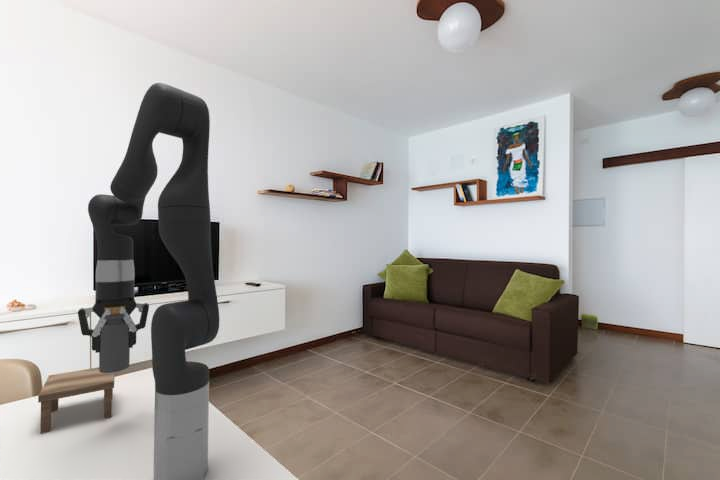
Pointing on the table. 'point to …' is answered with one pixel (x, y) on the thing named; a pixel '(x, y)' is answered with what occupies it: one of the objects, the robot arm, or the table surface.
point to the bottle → (114, 342)
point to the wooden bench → (74, 391)
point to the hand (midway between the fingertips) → (114, 349)
